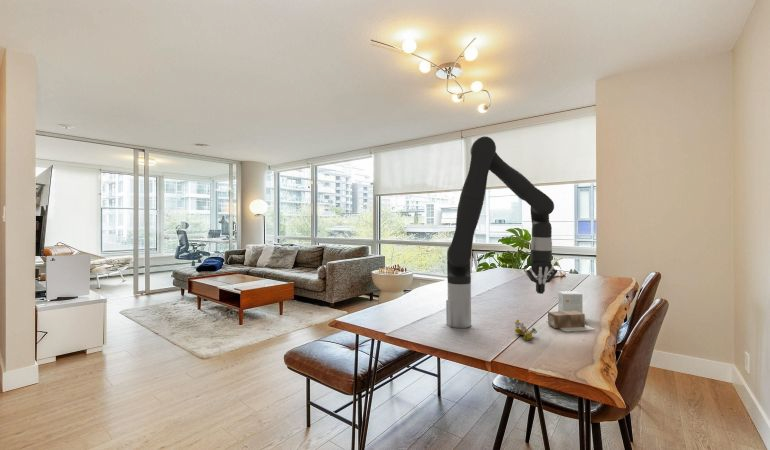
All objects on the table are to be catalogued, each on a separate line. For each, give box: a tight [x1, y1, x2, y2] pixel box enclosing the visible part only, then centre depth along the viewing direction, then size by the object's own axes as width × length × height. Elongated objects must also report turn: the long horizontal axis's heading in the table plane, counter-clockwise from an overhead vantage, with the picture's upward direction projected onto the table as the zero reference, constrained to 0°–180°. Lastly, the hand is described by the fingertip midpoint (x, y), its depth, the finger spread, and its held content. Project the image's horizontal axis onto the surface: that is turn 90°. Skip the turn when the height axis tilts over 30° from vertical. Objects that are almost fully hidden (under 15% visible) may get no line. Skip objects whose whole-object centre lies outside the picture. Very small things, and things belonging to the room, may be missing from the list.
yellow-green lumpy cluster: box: [514, 319, 538, 341], centre depth 130 cm, size 5×5×15 cm
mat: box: [545, 319, 596, 332], centre depth 140 cm, size 12×13×1 cm
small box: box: [557, 290, 584, 314], centre depth 151 cm, size 8×6×10 cm
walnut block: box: [547, 311, 586, 329], centre depth 139 cm, size 5×5×12 cm
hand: (540, 293), depth 137 cm, fingers closed
